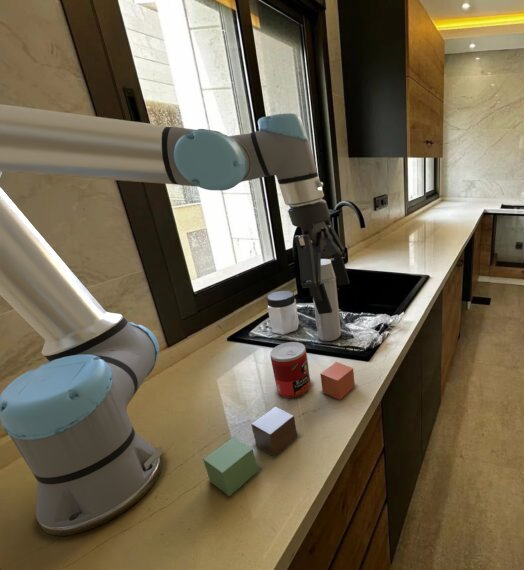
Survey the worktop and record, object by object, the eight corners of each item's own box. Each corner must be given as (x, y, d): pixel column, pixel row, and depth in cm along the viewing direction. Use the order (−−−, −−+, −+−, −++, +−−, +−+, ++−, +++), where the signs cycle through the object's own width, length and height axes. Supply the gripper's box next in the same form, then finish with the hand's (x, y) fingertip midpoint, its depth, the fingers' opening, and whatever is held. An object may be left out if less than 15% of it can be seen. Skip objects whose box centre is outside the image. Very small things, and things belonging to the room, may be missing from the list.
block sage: (210, 482, 57) (202, 459, 55) (239, 458, 62) (233, 436, 60) (229, 496, 55) (222, 473, 53) (258, 471, 60) (252, 448, 57)
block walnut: (256, 445, 65) (251, 423, 63) (279, 426, 69) (275, 406, 67) (274, 456, 62) (270, 434, 60) (297, 436, 67) (294, 415, 65)
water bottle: (325, 329, 109) (317, 257, 99) (346, 333, 106) (339, 259, 97) (308, 343, 100) (297, 266, 91) (330, 347, 98) (321, 269, 89)
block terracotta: (322, 392, 80) (320, 373, 78) (338, 379, 84) (336, 361, 82) (339, 399, 77) (337, 380, 75) (354, 386, 82) (353, 368, 80)
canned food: (300, 400, 77) (294, 361, 73) (270, 396, 78) (262, 357, 74) (316, 380, 84) (311, 343, 80) (288, 376, 85) (282, 339, 81)
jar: (297, 333, 106) (292, 299, 102) (270, 336, 104) (263, 301, 100) (300, 320, 114) (295, 289, 110) (275, 323, 112) (269, 291, 108)
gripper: (298, 214, 52) (334, 325, 61) (342, 189, 75) (364, 273, 84) (255, 221, 53) (297, 329, 62) (311, 194, 76) (336, 276, 85)
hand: (335, 297), depth 73 cm, fingers open, 13 cm apart
